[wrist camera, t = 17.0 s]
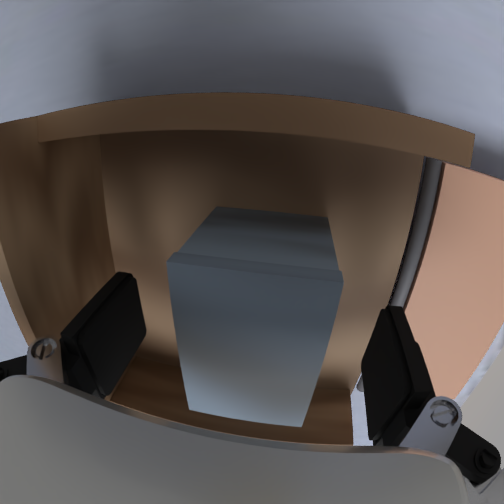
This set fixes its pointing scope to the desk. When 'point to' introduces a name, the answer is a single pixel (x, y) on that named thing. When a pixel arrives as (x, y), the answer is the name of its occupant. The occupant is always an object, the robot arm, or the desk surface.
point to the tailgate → (454, 272)
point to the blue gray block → (254, 312)
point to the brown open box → (198, 209)
